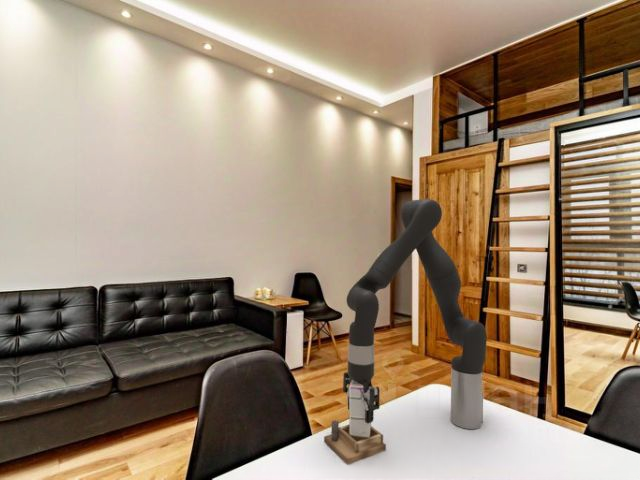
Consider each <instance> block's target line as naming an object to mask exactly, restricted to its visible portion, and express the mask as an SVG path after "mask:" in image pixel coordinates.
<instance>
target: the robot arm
mask: <svg viewBox="0 0 640 480" xmlns="http://www.w3.org/2000/svg"><path fill="white" fill-rule="evenodd" d="M442 216H443V210H442V207H441V205H440V203H439V202H437V201H436V200H435V199H429V198H422V199H413V200H408V201H407V202H405V203H404V204H403V206H402V207H401V211H400V217H401V218H400V219H401V221H402V224H403V227H404V228H405V229H404V231H403V232H402V233H401V234H400V235H399V236H398V237H397V238H396V239H395V240H394V241H393V242H392V243H390V244H389V245H388V246H387V247H386V248H385V249H384V250H382V251H381V253H380V254H379V255H378V256H377V257H376V259H375V260H374V262H373V263H372V264H371V266H370V268H369V269H368V270H367V272H366V273H365V274H364V275H363V276H361V278H360V279H359V280H357V281H356V283H354V285H353V286H352V287H351V288H350V290H349V291H348V293H347V296H346V304H347V307H348V308H349V309H350V310H351V311H354V312H355V314H354V315H355V316H354V321H352V322H351V323H350V325H349V329H348V330H349V331H348V334H349V335H348V347H347V371H346V372H344V373H343V381H342V386H343V387H342V391H343V393H346V397H347V410H348V411H349V385H350V382H351V380H354V381H357V382H359V383H360V384H362V385H363V392H364V393H366V392H367V391H368V389H369V390H370V392H369V394H370V397H369V398H368V397H367V398H365V397H364V394H363V392H362V391H361V390H360V389H359V390H360V393H361V394H360V397H361V401H362V402H364V405H365V408H366V409H365V422H366V423H371V424H372V423H373V422H374V418H375V417H374V413H375V412H374V411H376V410H379V409H380V387H379V386H373V384H372V379H373V377H374V375H375V354H376V353H375V345H374V344H375V326H376V323H377V319H378V315H379V311H380V303H379V298H378V296H377V295H376V294H377V292H378V291H379V290H384V289H386V288H387V287H388V286H389V285H390V284H391V282H392V281H393V279H394V278H395V276H396V275H397V274H398V272H399V270H400V268H401V267H402V266H403V264H405V262H406V261H407V260H408V258H409V257H410V256H411V255H412V253H413V252H414V251H415V250H416V252H417V255H418V257H419V260H420V263H421V265H422V268H423V270H424V273H425V275H426V278H427V280H428V283H429V285H430V288H431V290H432V293H433V295H434V298H435V301H436V303H437V306H438V309H439V312H440V314H441V319H442V322H443V326H444V329H445V333H446V336H447V338H448V340H449V341H450V342H451V343H452V344H454V345H456V346H459V347H461V348H462V353H461V355H458V356H453V357H452V359H451V368H450V369H451V370H450V371H451V372H450V375H451V376H450V413H449V415H450V421H451V423H452V424H454V425H455V426H457V427H460V428H461V429H465V430H477V429H479V428H481V426H482V423H483V422H484V421H483V420H484V393H483V367H484V364H485V361H486V356H487V355H486V353H487V338H488V337H487V335H488V334H487V329H486V326H484V324H483V323H481V322H478V321H476V320H474V319H470V318H466V317H465V316H464V313H463V312H462V309H461V306H460V304H459V298H460V297H459V296H460V293H461V287H462V282H461V278H460V275H459V272H458V269H457V267H456V264H455V262H454V261H453V258H452V257H451V256H450V255H449V253H447V251H446V250H445V249H444V248H443V246H441V245H440V243H439V242H438V241H437V239H436V238H435V236H434V234H433V231H434V230H435V229H436V227H437V226H439V224H440V222H441V220H442ZM367 400H370V405H368V402H367Z"/></svg>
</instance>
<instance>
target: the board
mask: <svg viewBox="0 0 640 480" xmlns="http://www.w3.org/2000/svg"><path fill="white" fill-rule="evenodd" d="M339 423H340V422H339V420H336V419H335V420H332V421H331V434H328V435H325V436H324V437H323V442H324V443H325V445H326V446H328V447H329V448H330V449H331V450H332V451H333V452H334V453H335V454H336V455H337V456H338V457H339V458H340V459H341V460H343V462H344V463H345V464H347V465H350V464H353V463H355V462H358V461H360V460H365V459H366V458H369V457H371V456H375V455H377V454H381V453H382V452H385V451H386V450H387V444H386V443H384V434H383V433H381V432H380V431H378V430H377V429H376V428H374V427H373V426H372V425H371V431H370V436H369V438H368V437H358V436H352V435H350V434H349V424H346V425H342V426H340V427H339Z"/></svg>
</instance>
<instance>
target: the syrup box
mask: <svg viewBox="0 0 640 480" xmlns="http://www.w3.org/2000/svg"><path fill="white" fill-rule="evenodd" d="M348 386H349V410H348V411H349V414H348V415H349V418H348V419H349V421H348V422H349V424H348V425H349V434H350V435H352V436H358V437H368V438H369V436H370V431H371V426H372V422H371V423H366V422H365V409H366V408H365V405H364V402H362V401H361V397H360V394H361V393H360V390H361V391H362V392H363V385H362V384H360V383H359V382H357V381H354V380H351V382H350V385H349V384H348ZM359 389H360V390H359ZM369 392H370V390H369V389H368V391H367V392H366V393H364V392H363V394H364V397H365V398H367V397H368V398H369V397H370V394H369ZM367 402H368V405H370V400H367Z"/></svg>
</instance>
